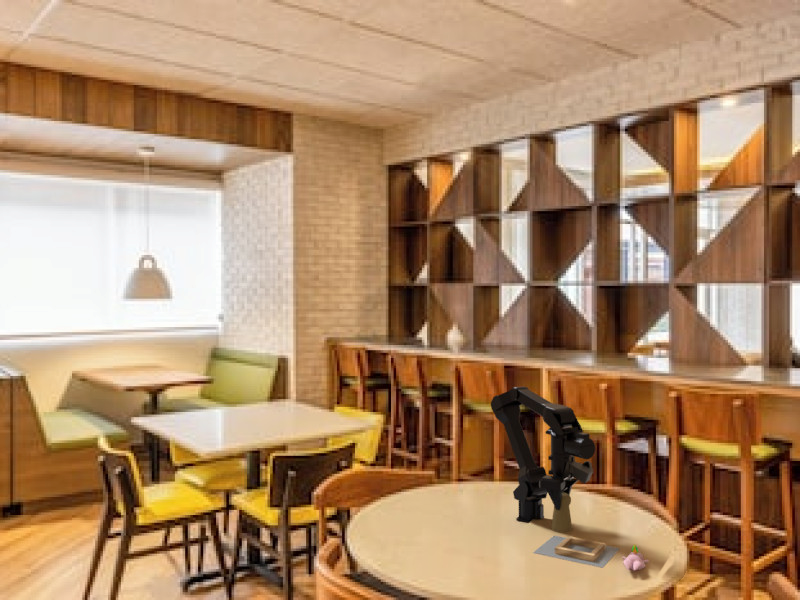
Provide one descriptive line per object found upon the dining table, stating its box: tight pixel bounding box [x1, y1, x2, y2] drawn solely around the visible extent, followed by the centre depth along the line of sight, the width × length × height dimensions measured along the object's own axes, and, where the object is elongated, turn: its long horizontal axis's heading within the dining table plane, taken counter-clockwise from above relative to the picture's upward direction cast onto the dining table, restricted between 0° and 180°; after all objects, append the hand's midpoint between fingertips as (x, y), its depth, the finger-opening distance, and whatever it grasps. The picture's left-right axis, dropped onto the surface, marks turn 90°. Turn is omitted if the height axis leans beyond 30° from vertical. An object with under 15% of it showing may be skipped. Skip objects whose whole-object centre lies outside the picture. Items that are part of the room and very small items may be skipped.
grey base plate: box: [532, 535, 621, 568], centre depth 177 cm, size 18×15×1 cm
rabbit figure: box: [621, 544, 650, 571], centre depth 167 cm, size 6×6×15 cm
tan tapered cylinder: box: [550, 493, 573, 534], centre depth 193 cm, size 6×6×11 cm
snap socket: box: [555, 535, 607, 562], centre depth 176 cm, size 10×10×2 cm
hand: (561, 507), depth 193 cm, fingers closed on tan tapered cylinder, 5 cm apart
